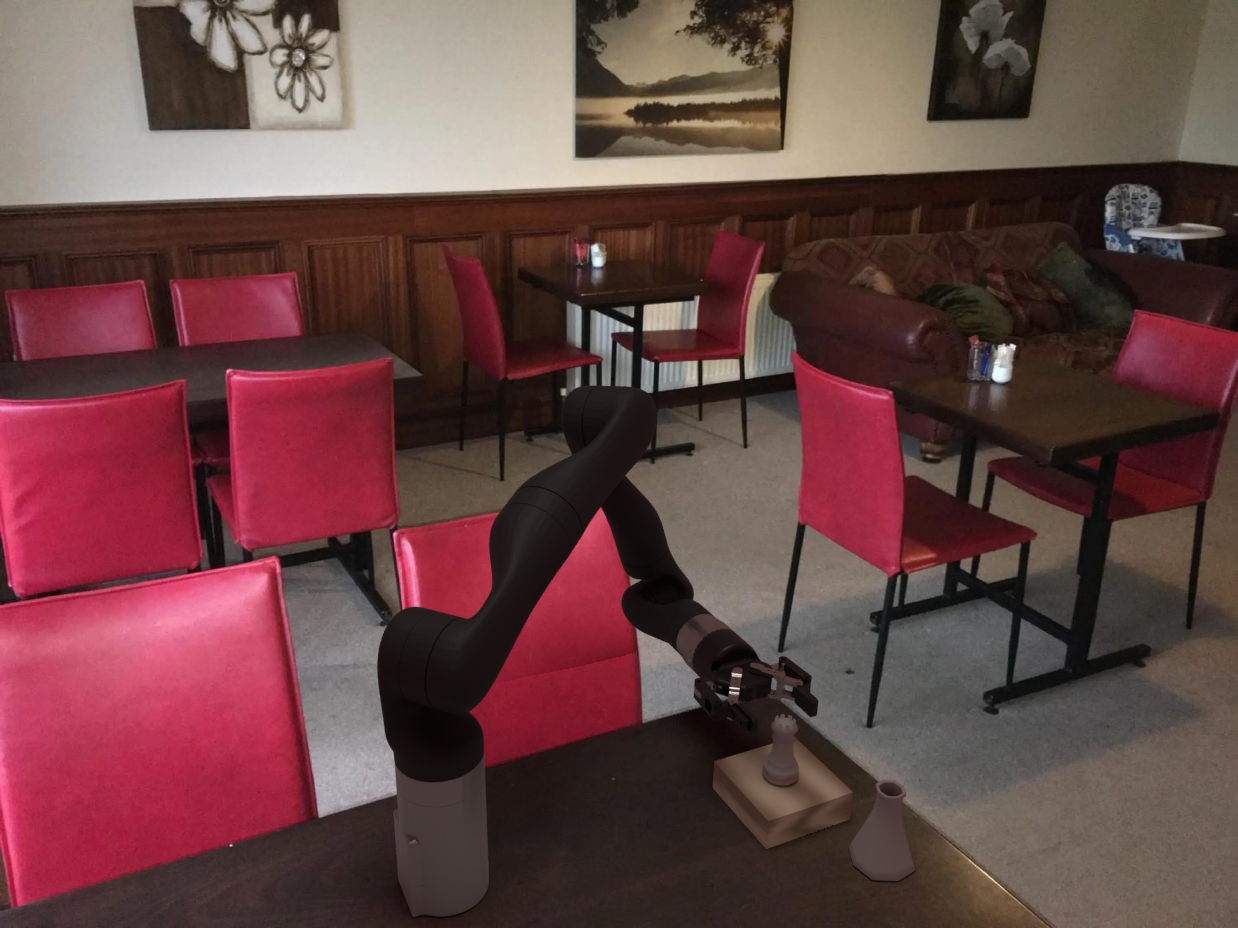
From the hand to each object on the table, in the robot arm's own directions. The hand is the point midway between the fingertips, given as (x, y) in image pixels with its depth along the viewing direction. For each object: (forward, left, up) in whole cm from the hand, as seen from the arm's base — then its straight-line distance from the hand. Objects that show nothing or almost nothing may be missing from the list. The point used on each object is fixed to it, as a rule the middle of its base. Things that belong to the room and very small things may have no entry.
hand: (785, 718), depth 122 cm
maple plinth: (0, 0, -12) cm, 12 cm away
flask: (+5, -13, -12) cm, 19 cm away
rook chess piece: (0, 0, -8) cm, 8 cm away
